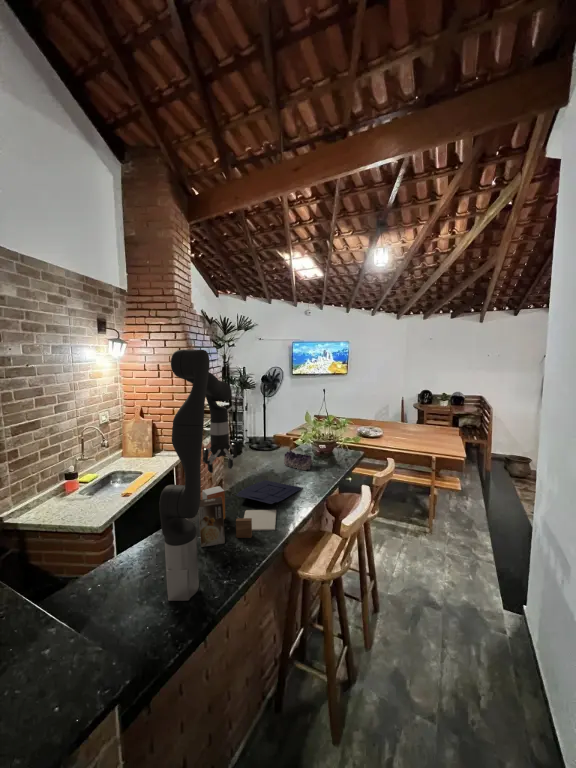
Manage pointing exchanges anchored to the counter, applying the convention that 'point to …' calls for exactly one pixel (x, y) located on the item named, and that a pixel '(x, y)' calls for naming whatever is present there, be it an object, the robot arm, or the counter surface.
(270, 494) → the navy rectangular panel
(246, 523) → the slab
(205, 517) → the coffee box
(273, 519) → the mat
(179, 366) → the robot arm
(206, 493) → the small box
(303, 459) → the geode
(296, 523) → the counter surface
